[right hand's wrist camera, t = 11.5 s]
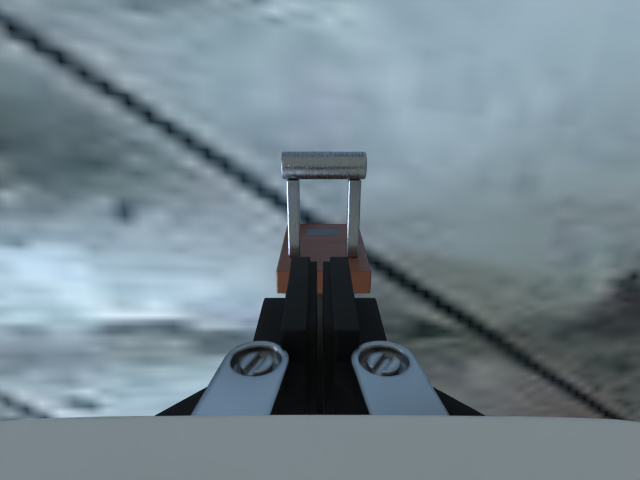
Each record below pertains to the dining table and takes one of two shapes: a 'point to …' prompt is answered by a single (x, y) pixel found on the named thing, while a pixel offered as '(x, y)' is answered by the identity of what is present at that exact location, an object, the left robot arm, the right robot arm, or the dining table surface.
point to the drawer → (324, 230)
